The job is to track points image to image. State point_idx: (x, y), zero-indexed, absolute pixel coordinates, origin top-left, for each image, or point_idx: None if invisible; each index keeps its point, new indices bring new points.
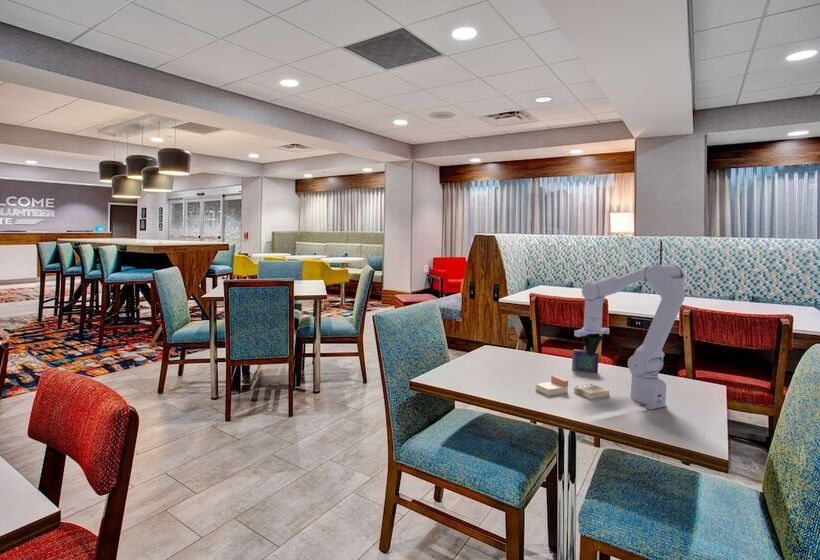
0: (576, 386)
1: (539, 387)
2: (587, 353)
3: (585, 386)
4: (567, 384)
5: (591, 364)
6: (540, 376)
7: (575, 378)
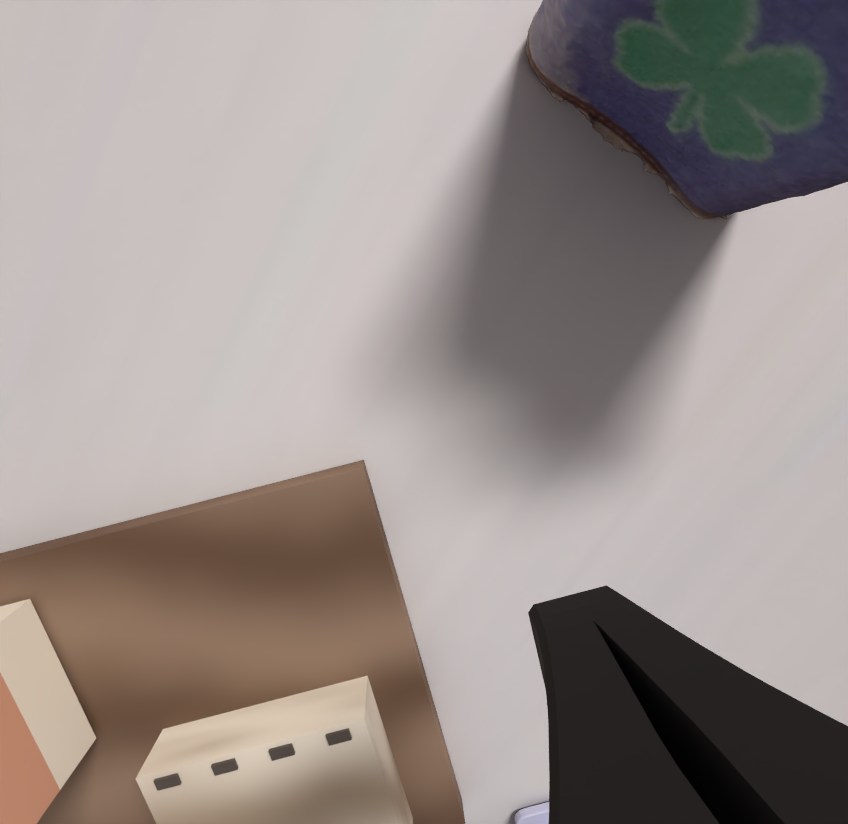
0: (156, 782)
1: None
2: (535, 640)
3: (252, 777)
4: (38, 813)
5: (765, 151)
6: (66, 130)
7: (443, 266)
